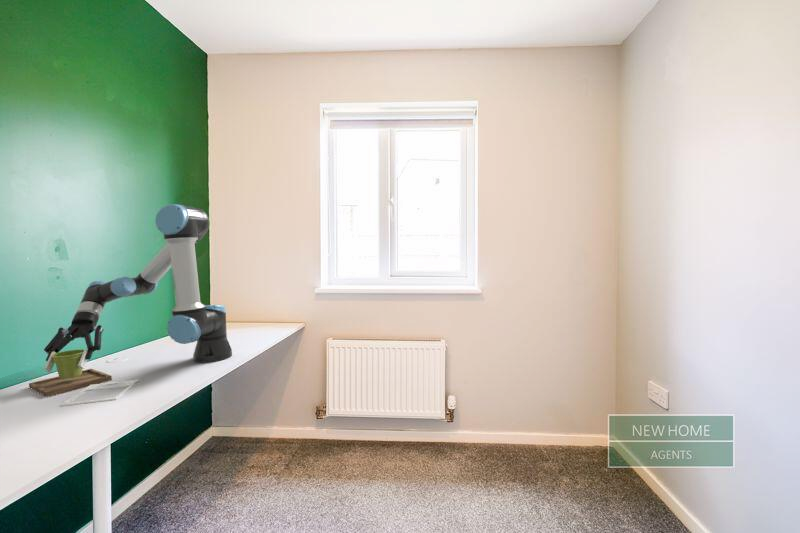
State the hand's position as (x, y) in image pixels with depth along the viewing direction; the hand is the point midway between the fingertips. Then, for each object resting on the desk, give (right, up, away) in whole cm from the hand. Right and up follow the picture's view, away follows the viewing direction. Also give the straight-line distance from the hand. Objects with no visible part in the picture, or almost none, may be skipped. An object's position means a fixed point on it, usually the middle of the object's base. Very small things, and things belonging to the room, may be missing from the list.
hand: (64, 368), depth 133 cm
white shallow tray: (+19, -7, -6) cm, 21 cm away
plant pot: (-1, -4, +3) cm, 5 cm away
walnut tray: (0, -6, +3) cm, 7 cm away
